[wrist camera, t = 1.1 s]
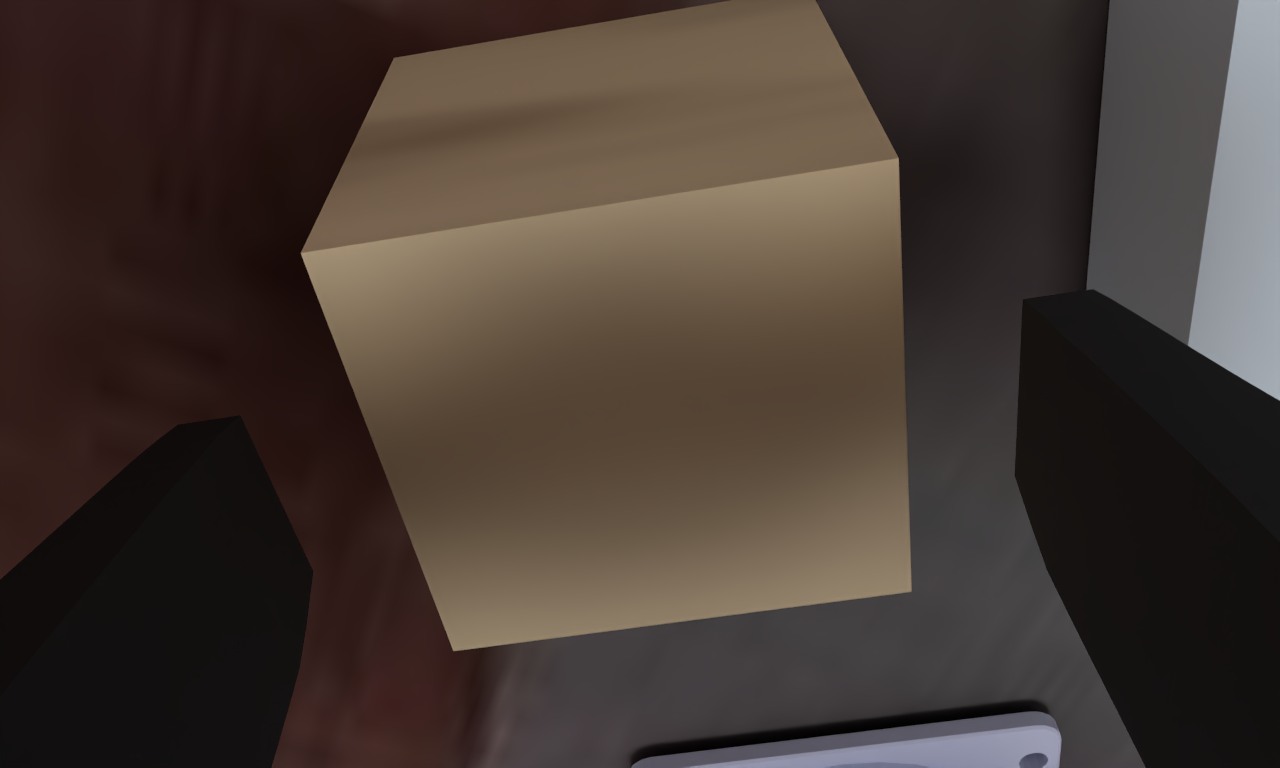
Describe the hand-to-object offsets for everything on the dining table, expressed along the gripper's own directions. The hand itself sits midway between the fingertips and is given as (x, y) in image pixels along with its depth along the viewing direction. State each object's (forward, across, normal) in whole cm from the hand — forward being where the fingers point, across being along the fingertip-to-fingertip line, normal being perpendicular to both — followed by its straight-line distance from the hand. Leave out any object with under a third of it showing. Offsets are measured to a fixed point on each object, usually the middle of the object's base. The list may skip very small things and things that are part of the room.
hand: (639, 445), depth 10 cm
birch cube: (+5, 0, 0) cm, 5 cm away
